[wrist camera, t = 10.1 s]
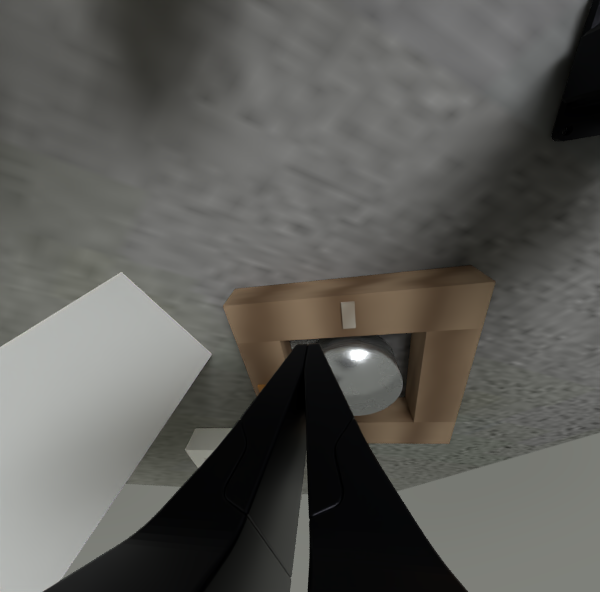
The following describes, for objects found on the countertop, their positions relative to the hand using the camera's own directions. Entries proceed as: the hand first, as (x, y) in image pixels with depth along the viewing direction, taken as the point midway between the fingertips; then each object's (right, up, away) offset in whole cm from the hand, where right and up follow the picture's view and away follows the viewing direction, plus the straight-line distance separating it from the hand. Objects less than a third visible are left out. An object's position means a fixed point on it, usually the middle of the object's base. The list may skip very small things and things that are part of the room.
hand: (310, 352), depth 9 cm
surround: (+5, -5, +16) cm, 18 cm away
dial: (+3, -5, +16) cm, 17 cm away
